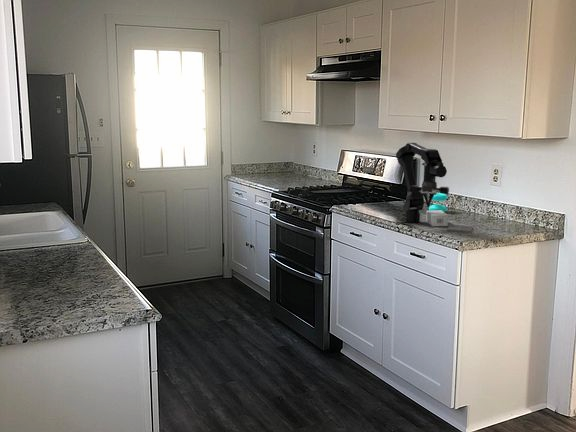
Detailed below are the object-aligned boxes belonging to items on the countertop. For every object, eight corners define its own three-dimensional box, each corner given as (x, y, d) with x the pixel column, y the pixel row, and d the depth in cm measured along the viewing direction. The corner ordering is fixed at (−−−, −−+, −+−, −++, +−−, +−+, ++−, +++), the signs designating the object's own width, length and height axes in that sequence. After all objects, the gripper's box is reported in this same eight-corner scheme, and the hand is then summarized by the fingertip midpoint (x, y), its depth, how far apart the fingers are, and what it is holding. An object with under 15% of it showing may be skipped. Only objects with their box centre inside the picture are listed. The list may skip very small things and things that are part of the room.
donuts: (427, 192, 347) (445, 192, 347) (426, 209, 349) (444, 210, 349) (432, 195, 337) (449, 195, 337) (431, 212, 339) (448, 212, 339)
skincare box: (432, 215, 298) (425, 209, 312) (431, 227, 299) (425, 221, 313) (449, 214, 297) (441, 209, 312) (448, 226, 299) (441, 220, 313)
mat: (447, 230, 288) (447, 229, 288) (450, 225, 301) (450, 224, 301) (470, 232, 284) (470, 231, 284) (473, 227, 297) (473, 226, 297)
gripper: (407, 176, 290) (406, 208, 292) (447, 177, 283) (445, 210, 286) (411, 173, 300) (410, 204, 303) (450, 175, 293) (448, 207, 296)
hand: (428, 206), depth 296 cm, fingers closed
